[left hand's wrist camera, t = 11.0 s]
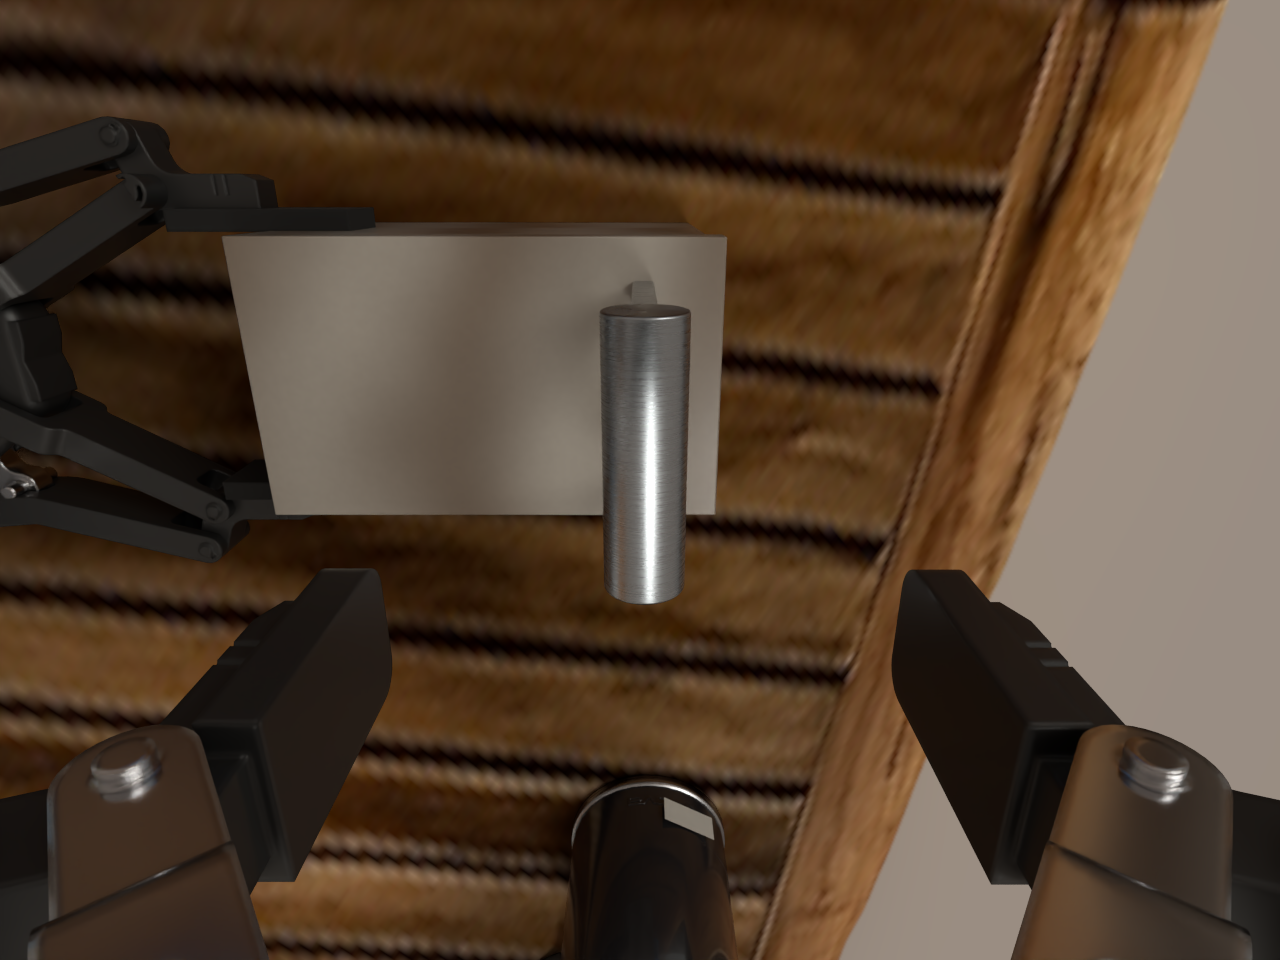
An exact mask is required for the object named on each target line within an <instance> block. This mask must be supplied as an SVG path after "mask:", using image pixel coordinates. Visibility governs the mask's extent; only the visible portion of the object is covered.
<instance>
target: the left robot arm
mask: <svg viewBox="0 0 1280 960" xmlns="http://www.w3.org/2000/svg"><path fill="white" fill-rule="evenodd" d="M391 676H392V654H391V647H390V640H389V633H388V626H387V619H386V612H385V605H384V598H383V591H382V585H381V580H380V577H379V574H378V573H377V571H376V570H375V569H322V570H320V571H319V572H318V573H317V575H316V576H315V577H314V578H313V579H312V581H311V582H310V583H309V584H308V585H307V587H306V588H305V589H304V590H303V591H302V592H301V594H300V595H299V596H298V597H297V598H296V600H295V601H284V602H282V603H280V604H279V605H277V606H276V607H274V608H272V609H271V610H269V611H267V612H266V613H264V614H262V615H261V616H259V617H257V618H256V619H254V620H253V621H252V622H251V623H250V624H249V626H248V627H247V628H246V629H245V630H244V631H243V632H242V633H241V634H240V636H239V637H238V638H237V639H236V640H235V641H234V646H230V647H229V648H228V649H227V650H226V651H225V652H224V653H223V655H222V656H221V657H220V658H219V659H218V660H217V665H213V666H212V667H211V668H210V669H209V670H208V671H207V672H206V673H205V675H204V676H203V677H202V678H201V679H200V680H199V681H198V682H197V683H196V685H195V686H194V687H193V688H192V689H191V690H190V691H189V692H188V693H187V695H186V696H185V697H184V698H183V699H182V700H181V701H180V702H179V703H178V705H177V706H176V707H175V708H174V709H173V710H172V711H171V712H170V713H169V715H168V716H167V717H166V718H165V719H164V720H163V721H162V722H161V723H160V725H154V726H146V727H142V728H137V729H133V730H130V731H127V732H123V733H121V734H118V735H115V736H113V737H110V738H108V739H106V740H104V741H102V742H100V743H98V744H96V745H94V746H92V747H91V748H89V749H87V750H85V751H84V752H83V753H81V754H80V755H78V756H77V757H75V758H74V759H73V760H72V761H70V762H69V763H68V764H67V765H66V766H65V767H64V768H63V769H62V770H61V771H60V772H59V773H58V774H57V775H56V777H55V778H54V780H53V781H52V783H51V785H50V787H49V789H45V790H40V791H36V792H31V793H26V794H22V795H17V796H13V797H8V798H3V799H0V960H269V957H268V954H267V951H266V947H265V944H264V941H263V937H262V934H261V931H260V928H259V924H258V921H257V918H256V914H255V911H254V908H253V905H252V901H251V898H250V894H251V892H252V891H253V889H254V887H255V885H256V883H257V882H295V880H296V878H297V876H298V874H299V872H300V870H301V868H302V866H303V864H304V862H305V860H306V858H307V856H308V854H309V852H310V850H311V848H312V846H313V844H314V842H315V840H316V838H317V836H318V834H319V832H320V830H321V828H322V826H323V824H324V822H325V820H326V818H327V816H328V814H329V812H330V810H331V808H332V806H333V804H334V802H335V800H336V798H337V796H338V794H339V792H340V790H341V788H342V786H343V784H344V782H345V780H346V778H347V776H348V774H349V772H350V770H351V768H352V766H353V764H354V762H355V760H356V758H357V756H358V754H359V752H360V750H361V748H362V746H363V744H364V742H365V740H366V738H367V736H368V734H369V732H370V730H371V728H372V726H373V724H374V722H375V720H376V717H377V715H378V713H379V711H380V709H381V707H382V705H383V703H384V701H385V699H386V697H387V694H388V691H389V688H390V683H391ZM892 679H893V685H894V690H895V693H896V696H897V699H898V701H899V703H900V705H901V707H902V709H903V711H904V713H905V715H906V717H907V719H908V721H909V723H910V725H911V727H912V729H913V731H914V733H915V735H916V737H917V739H918V741H919V743H920V745H921V747H922V749H923V751H924V753H925V755H926V757H927V759H928V761H929V763H930V764H931V766H932V768H933V770H934V772H935V774H936V776H937V778H938V780H939V782H940V784H941V786H942V788H943V790H944V792H945V794H946V796H947V798H948V800H949V802H950V804H951V806H952V808H953V810H954V812H955V814H956V816H957V818H958V820H959V822H960V824H961V826H962V828H963V830H964V832H965V834H966V836H967V838H968V840H969V841H970V843H971V846H972V848H973V849H974V851H975V853H976V855H977V857H978V859H979V861H980V863H981V865H982V867H983V869H984V871H985V873H986V875H987V877H988V879H989V881H990V883H991V884H1029V886H1030V888H1031V890H1032V891H1031V895H1030V898H1029V901H1028V905H1027V908H1026V911H1025V915H1024V918H1023V921H1022V924H1021V928H1020V931H1019V934H1018V937H1017V941H1016V944H1015V947H1014V951H1013V954H1012V957H1011V960H1280V800H1276V799H1271V798H1266V797H1262V796H1257V795H1253V794H1248V793H1243V792H1239V791H1235V790H1232V789H1231V787H1230V785H1229V783H1228V781H1227V780H1226V778H1225V777H1224V775H1223V774H1222V773H1221V772H1220V771H1219V770H1218V769H1217V768H1216V767H1215V766H1214V765H1213V764H1212V763H1211V762H1210V761H1208V760H1207V759H1206V758H1205V757H1203V756H1202V755H1200V754H1199V753H1197V752H1196V751H1195V750H1193V749H1191V748H1189V747H1188V746H1186V745H1184V744H1182V743H1180V742H1178V741H1176V740H1174V739H1172V738H1170V737H1167V736H1164V735H1162V734H1159V733H1156V732H1153V731H1150V730H1147V729H1143V728H1138V727H1134V726H1126V725H1125V724H1124V723H1123V722H1122V721H1121V720H1120V719H1119V718H1118V717H1117V715H1116V714H1115V713H1114V712H1113V711H1112V710H1111V709H1110V708H1109V707H1108V705H1107V704H1106V703H1105V702H1104V701H1103V700H1102V699H1101V698H1100V697H1099V696H1098V694H1097V693H1096V692H1095V691H1094V690H1093V689H1092V688H1091V687H1090V686H1089V685H1088V683H1087V682H1086V681H1085V680H1084V679H1083V678H1082V677H1081V676H1080V675H1079V673H1078V672H1077V671H1076V670H1075V669H1074V668H1073V667H1069V666H1068V661H1067V660H1066V659H1065V658H1064V657H1063V656H1062V655H1061V654H1060V653H1059V651H1058V650H1057V649H1056V648H1052V647H1051V643H1050V642H1049V640H1048V639H1047V638H1046V637H1045V636H1044V635H1043V634H1042V633H1041V632H1040V631H1039V629H1038V628H1037V627H1036V626H1035V625H1034V624H1033V623H1032V622H1031V621H1030V620H1028V619H1027V618H1025V617H1023V616H1022V615H1020V614H1018V613H1017V612H1015V611H1013V610H1012V609H1010V608H1009V607H1007V606H1005V605H1004V604H1002V603H1000V602H990V601H989V600H988V599H987V598H986V597H985V595H984V594H983V593H982V592H981V591H980V589H979V588H978V587H977V586H976V585H975V584H974V582H973V581H972V580H971V579H970V578H969V577H968V575H967V574H966V573H965V572H964V571H962V570H910V571H908V572H907V574H906V576H905V578H904V581H903V586H902V592H901V599H900V606H899V613H898V620H897V626H896V633H895V640H894V647H893V654H892ZM724 845H725V839H724V830H723V824H722V820H721V817H720V814H719V812H718V810H717V808H716V807H715V805H714V804H713V803H712V802H711V800H710V799H709V798H708V797H707V796H706V795H705V794H703V793H702V792H701V791H699V790H698V789H696V788H695V787H693V786H691V785H689V784H687V783H685V782H682V781H680V780H676V779H673V778H669V777H663V776H654V775H642V776H633V777H628V778H624V779H620V780H617V781H614V782H612V783H609V784H607V785H605V786H603V787H602V788H600V789H599V790H597V791H596V792H594V793H593V794H592V795H591V796H589V798H588V799H587V800H586V801H585V802H584V803H583V804H582V806H581V807H580V809H579V810H578V812H577V815H576V817H575V820H574V824H573V831H572V856H571V866H570V876H569V883H568V893H567V903H566V913H565V923H564V932H563V942H562V952H561V953H558V954H555V955H552V956H550V957H548V958H546V959H544V960H738V955H737V947H736V939H735V932H734V924H733V916H732V908H731V900H730V892H729V883H728V875H727V867H726V859H725V851H724Z"/></svg>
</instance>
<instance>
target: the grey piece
mask: <svg viewBox="0 0 1280 960" xmlns="http://www.w3.org/2000/svg"><path fill="white" fill-rule="evenodd" d="M222 242H223V247H224V252H225V257H226V262H227V267H228V273H229V278H230V283H231V288H232V293H233V298H234V303H235V309H236V314H237V319H238V324H239V329H240V334H241V339H242V345H243V350H244V355H245V360H246V365H247V370H248V375H249V381H250V386H251V391H252V396H253V401H254V406H255V411H256V416H257V422H258V427H259V432H260V437H261V442H262V447H263V452H264V458H265V463H266V468H267V473H268V478H269V483H270V488H271V494H272V499H273V504H274V509H275V514H276V515H603V538H604V585H605V588H606V590H607V592H608V593H609V594H610V595H611V596H613V597H614V598H616V599H618V600H620V601H623V602H627V603H632V604H641V605H648V604H657V603H662V602H666V601H669V600H671V599H673V598H675V597H676V596H678V595H679V594H680V593H681V591H682V590H683V588H684V571H685V533H686V515H715V512H716V488H717V465H718V441H719V417H720V393H721V369H722V345H723V321H724V297H725V273H726V249H727V237H725V236H724V235H547V234H236V235H227V236H222Z"/></svg>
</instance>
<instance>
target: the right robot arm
mask: <svg viewBox="0 0 1280 960" xmlns="http://www.w3.org/2000/svg"><path fill="white" fill-rule="evenodd" d="M169 145H170V142H169V138H168V135H167V133H166V132H165V130H164V129H163V128H161V127H160V126H159V125H157V124H154V123H152V122H144V121H137V120H130V119H123V118H116V117H108V116H107V117H100V118H96V119H93V120H90V121H87V122H84V123H81V124H78V125H74V126H71V127H68V128H65V129H62V130H59V131H56V132H53V133H49V134H46V135H43V136H40V137H37V138H34V139H31V140H28V141H24V142H21V143H18V144H15V145H12V146H9V147H6V148H2V149H0V206H4V205H9V204H12V203H16V202H19V201H22V200H25V199H28V198H32V197H35V196H38V195H41V194H44V193H48V192H51V191H54V190H57V189H61V188H64V187H67V186H70V185H73V184H77V183H80V182H83V181H86V180H89V179H93V178H96V177H99V176H102V175H106V174H109V173H112V172H115V171H118V170H121V172H122V173H121V174H118V175H116V177H117V178H118V179H125V180H123V181H122V182H120V183H119V184H117V185H116V186H114V187H113V188H111V189H110V190H108V191H107V192H106V193H104V194H103V195H101V196H100V197H98V198H97V199H95V200H94V201H92V202H91V203H90V204H88V205H87V206H85V207H84V208H82V209H81V210H79V211H78V212H76V213H75V214H74V215H72V216H71V217H69V218H68V219H66V220H65V221H63V222H62V223H60V224H59V225H58V226H56V227H55V228H53V229H52V230H50V231H49V232H47V233H46V234H44V235H43V236H41V237H40V238H39V239H37V240H36V241H34V242H33V243H31V244H30V245H28V246H27V247H25V248H24V249H23V250H21V251H20V252H18V253H17V254H15V255H14V256H12V257H11V258H9V259H8V260H7V261H5V262H3V263H2V264H0V527H4V526H16V525H29V524H40V525H44V526H48V527H53V528H57V529H61V530H66V531H70V532H75V533H79V534H83V535H88V536H92V537H97V538H101V539H105V540H110V541H114V542H119V543H123V544H127V545H132V546H136V547H141V548H145V549H149V550H154V551H158V552H163V553H167V554H171V555H176V556H180V557H185V558H189V559H193V560H198V561H202V562H207V563H213V562H216V561H218V560H219V559H220V558H221V557H222V556H224V555H225V554H226V553H227V552H228V551H230V550H231V549H232V548H233V547H234V546H235V545H236V544H238V543H239V542H240V541H241V540H242V539H243V538H244V537H245V536H246V535H247V534H248V533H249V531H250V526H249V523H248V521H247V519H305V518H307V517H310V516H312V515H276V514H275V509H274V504H273V499H272V494H271V488H270V483H269V478H268V473H267V468H266V463H265V460H254V461H252V462H251V463H249V464H248V465H247V466H245V467H244V468H242V469H241V470H239V471H238V472H235V471H233V470H230V469H228V468H226V467H224V466H222V465H220V464H217V463H215V462H213V461H211V460H209V459H207V458H205V457H202V456H200V455H198V454H196V453H194V452H192V451H189V450H187V449H185V448H183V447H181V446H179V445H176V444H174V443H172V442H170V441H168V440H166V439H164V438H161V437H159V436H157V435H155V434H153V433H151V432H148V431H146V430H144V429H142V428H140V427H138V426H136V425H133V424H131V423H129V422H127V421H125V420H123V419H120V418H118V417H116V416H114V415H112V414H110V413H108V412H107V407H106V406H105V405H104V404H102V403H101V402H99V401H96V400H94V399H92V398H90V397H88V396H86V395H84V394H81V393H79V392H77V391H75V390H76V389H77V386H76V382H75V378H74V375H73V371H72V369H71V368H70V366H69V364H68V362H67V360H66V359H65V357H64V355H63V353H62V332H61V329H60V325H59V322H58V318H57V315H56V314H49V313H48V311H47V310H46V308H47V307H48V306H50V305H51V304H53V303H54V302H56V301H57V300H59V299H60V298H62V297H63V296H65V295H66V294H68V293H69V292H71V291H72V290H73V289H74V285H75V284H76V283H78V282H79V281H81V280H82V279H84V278H85V277H87V276H88V275H90V274H91V273H93V272H94V271H96V270H97V269H99V268H100V267H102V266H103V265H105V264H106V263H108V262H109V261H111V260H112V259H114V258H115V257H117V256H118V255H120V254H122V253H123V252H125V251H126V250H128V249H129V248H131V247H132V246H134V245H135V244H137V243H138V242H140V241H141V240H143V239H144V238H146V237H147V236H149V235H150V234H152V233H153V232H155V231H156V230H158V229H159V228H161V227H162V226H164V225H165V224H166V228H167V232H264V231H354V230H361V229H368V228H375V227H376V225H375V217H374V209H373V207H278V204H277V198H276V192H275V186H274V180H271V179H269V178H266V177H264V176H261V175H256V174H190V173H188V172H185V171H184V170H182V169H181V168H180V167H179V166H178V165H177V164H176V163H175V161H174V160H173V158H172V156H171V154H170V152H169V151H168V150H169ZM21 447H24V448H26V449H29V450H31V451H33V452H36V453H39V454H44V455H60V456H63V457H65V458H68V459H70V460H72V461H74V462H77V463H79V464H81V465H83V466H85V467H88V468H90V469H92V470H94V471H97V472H99V473H101V474H103V475H106V476H108V477H110V478H112V479H114V480H117V481H119V482H121V483H123V484H126V485H128V486H130V487H132V488H134V489H137V490H139V491H137V490H132V489H128V488H124V487H119V486H115V485H111V484H107V483H102V482H98V481H94V480H90V479H84V478H79V477H57V476H58V474H57V472H56V470H55V469H54V468H51V467H46V468H44V469H43V468H41V467H38V466H32V465H29V464H26V463H25V462H23V461H22V460H21V459H20V458H19V457H18V455H17V453H16V451H17V450H19V449H20V448H21Z"/></svg>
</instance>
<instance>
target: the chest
mask: <svg viewBox="0 0 1280 960" xmlns="http://www.w3.org/2000/svg"><path fill="white" fill-rule="evenodd" d="M375 225H376V227H375V228H368V229H361V230H354V231H264V232H255V233H246V234H547V235H705V234H704V233H702V232H701V231H699V230H698V229H696V228H695V227H693V226H692V225H690V224H689V223H437V222H375Z"/></svg>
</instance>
